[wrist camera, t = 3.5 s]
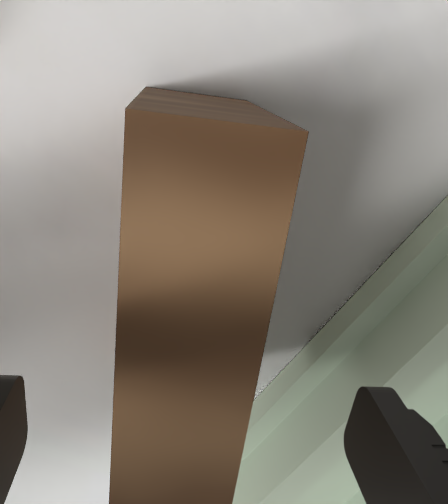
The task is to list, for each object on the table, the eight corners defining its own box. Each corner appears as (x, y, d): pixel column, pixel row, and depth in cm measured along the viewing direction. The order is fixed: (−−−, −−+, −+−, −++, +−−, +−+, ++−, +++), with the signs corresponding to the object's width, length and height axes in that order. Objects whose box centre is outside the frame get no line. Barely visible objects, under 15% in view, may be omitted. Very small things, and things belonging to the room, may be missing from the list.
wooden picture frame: (212, 366, 24) (235, 527, 15) (129, 363, 23) (107, 530, 15) (253, 101, 18) (320, 133, 10) (146, 86, 17) (125, 108, 9)
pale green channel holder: (334, 521, 30) (359, 593, 26) (197, 460, 26) (202, 534, 22) (592, 296, 25) (677, 342, 20) (467, 174, 21) (541, 202, 16)
